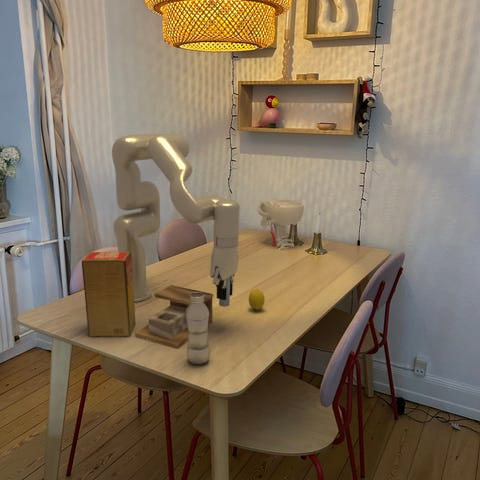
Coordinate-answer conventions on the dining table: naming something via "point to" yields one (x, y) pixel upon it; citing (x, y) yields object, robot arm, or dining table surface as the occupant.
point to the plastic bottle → (197, 329)
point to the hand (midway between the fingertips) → (224, 296)
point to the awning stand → (173, 317)
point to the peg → (226, 302)
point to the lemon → (256, 299)
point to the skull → (280, 218)
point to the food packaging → (109, 293)
